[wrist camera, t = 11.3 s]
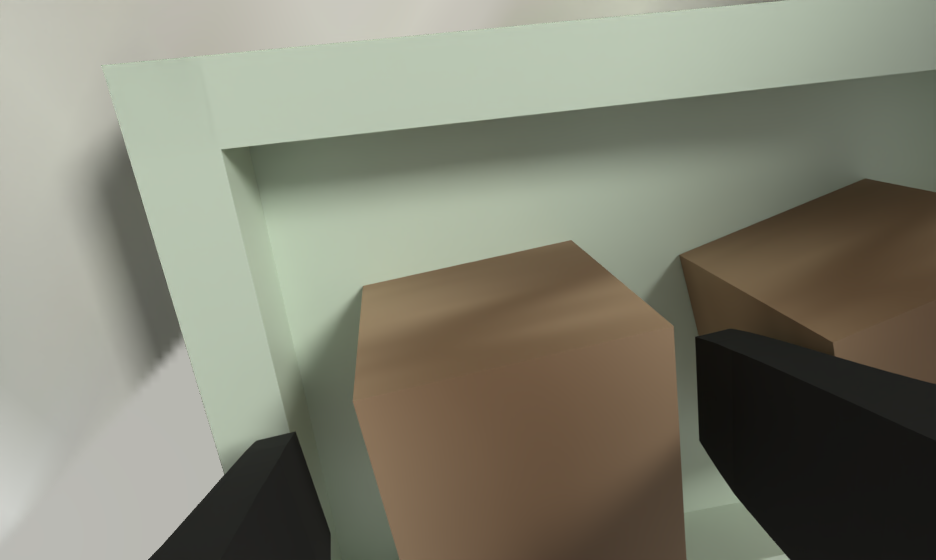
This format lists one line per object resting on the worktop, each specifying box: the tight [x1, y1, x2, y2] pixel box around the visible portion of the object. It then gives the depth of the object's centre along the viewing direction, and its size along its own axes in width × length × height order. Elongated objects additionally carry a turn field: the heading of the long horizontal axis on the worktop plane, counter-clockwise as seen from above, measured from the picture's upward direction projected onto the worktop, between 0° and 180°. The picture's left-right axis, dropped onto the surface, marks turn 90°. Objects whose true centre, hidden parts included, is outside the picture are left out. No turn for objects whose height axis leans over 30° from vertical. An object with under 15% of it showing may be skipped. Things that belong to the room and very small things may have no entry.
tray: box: [101, 0, 936, 560], centre depth 11 cm, size 16×12×2 cm
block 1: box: [353, 240, 687, 560], centre depth 9 cm, size 4×4×4 cm
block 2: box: [679, 178, 936, 384], centre depth 10 cm, size 4×4×4 cm
